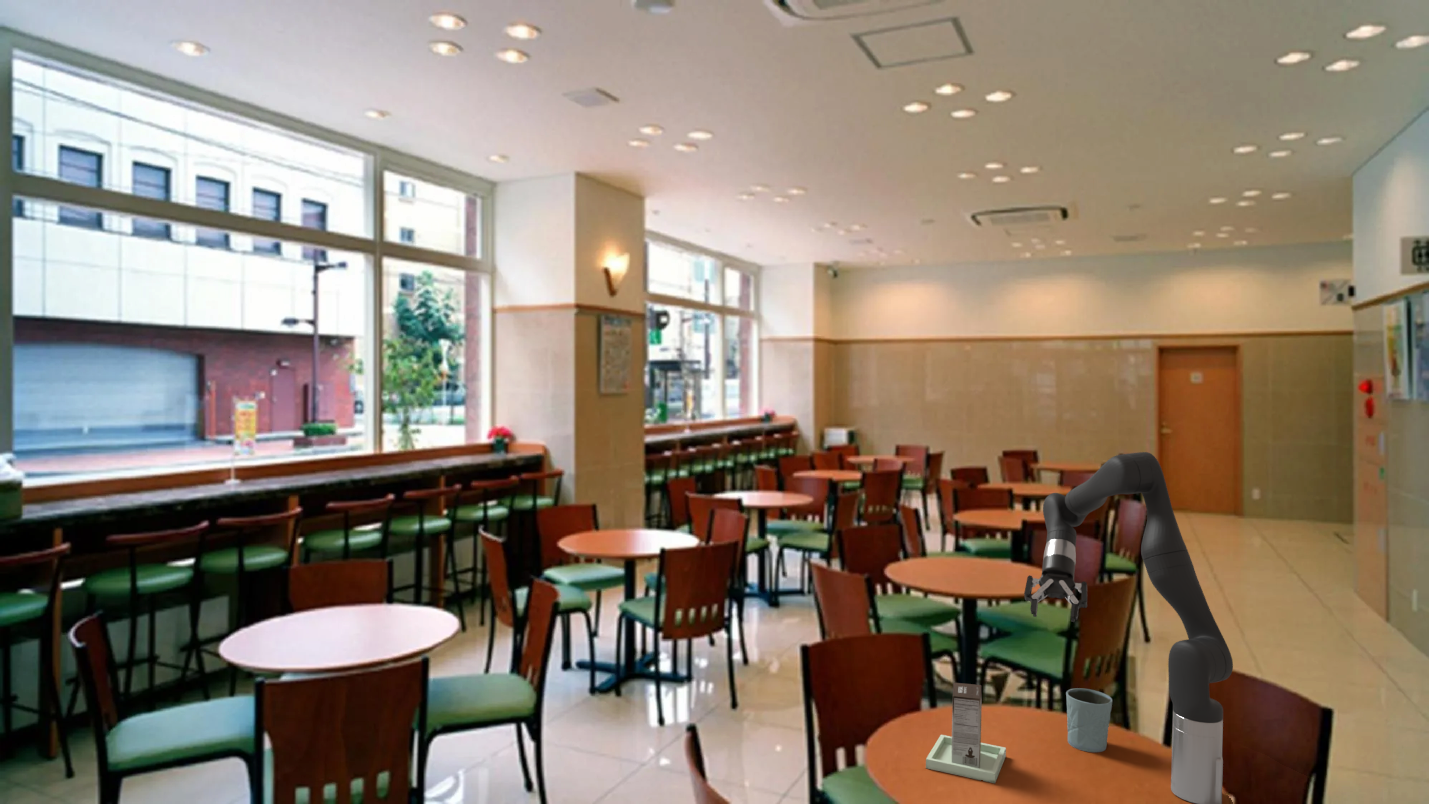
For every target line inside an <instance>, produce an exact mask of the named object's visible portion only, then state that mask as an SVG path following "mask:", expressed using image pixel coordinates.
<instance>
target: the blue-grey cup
mask: <svg viewBox="0 0 1429 804" xmlns="http://www.w3.org/2000/svg"><path fill="white" fill-rule="evenodd" d="M1065 695H1066V718H1067V721H1066V722H1067V723H1066V725H1067V727H1066V728H1067V743H1068V745H1070V746H1071V747H1072V748H1074V749H1076V750H1080V751H1083V752H1088V753H1102V752H1104V751H1106V749H1107V744H1108V737H1109V736H1108V735H1109V734H1108V733H1109V727H1110V726H1109V725H1110V721H1111V712H1112V708H1113V706H1112V705H1113V698H1112V697H1111V696H1110V695H1109V694H1106V693H1104V692H1101V691H1098V690H1094V689H1090V688H1080V687H1079V688H1078V687H1077V688H1070V689H1068V690H1066V692H1065Z"/></svg>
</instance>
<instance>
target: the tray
mask: <svg viewBox="0 0 1429 804" xmlns="http://www.w3.org/2000/svg"><path fill="white" fill-rule="evenodd" d="M1006 754H1007V748H1006V746H1005V747H1004V746H999V745H995V744H989V743H985V742H981V752H980V768H975V767H970V766H965V765H961V764H956V763H952V735H951V736H950V735H946V734H940V735H939V737H938V739H937V740H936V742H935V744H934V745H933V747H932V749H931V750H930V752H929V753H928V754H927V756H926V759H925V769H929V770H932V771H937V772H941V773H947V774H951V775H956V776H960V777H965V778H968V779H972V780H977V781H981V780H983V781H982V782H987V783H991V784H996V782H997V779H998V777H999V774H1000V772H1001V769H1002V767H1003V764H1004V762H1005V760H1006V757H1007V755H1006Z"/></svg>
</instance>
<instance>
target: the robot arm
mask: <svg viewBox="0 0 1429 804" xmlns="http://www.w3.org/2000/svg"><path fill="white" fill-rule="evenodd" d="M1140 493H1141V495H1142V497H1143V500H1144V503H1145V508H1146V514H1147V515H1146V516H1147V517H1146V520H1147V521H1146V525H1145V528H1144V532H1143V535H1142V536H1143V537H1142V540H1141V546H1140V554H1141V558H1142V561H1143V563H1144V567H1145V570H1146V572H1147V575H1148V578H1149V580H1150V582H1151V584H1152V585H1153V587H1154V588H1155V589H1156V591H1157V592H1158V593H1159V594H1160V596H1162V598H1163V599H1164V600H1165V601H1166V602H1167V603H1168V604H1169V606H1170V607H1171V608H1172V609H1174V611H1175V612H1176V613H1177V616H1178V617H1179V618H1180V620H1181V622H1182V624H1183V626H1184V629H1185V631H1186V634H1187V638H1188V639H1181V640H1179V641H1176V642H1175V643H1173V645H1172V646H1171V648H1170V649H1169V653H1168V660H1167V665H1168V666H1167V667H1168V668H1167V669H1168V692H1169V697H1170V700H1171V702H1172V733H1171V737H1172V738H1171V747H1172V748H1171V773H1170V774H1171V775H1170V777H1171V778H1170V790H1171V792H1172V793H1173V794H1174V795H1175V796H1177V798H1180V799H1182V800H1184V801H1187V802H1189V803H1192V804H1223V777H1224V775H1223V771H1224V770H1223V769H1224V768H1223V767H1224V765H1223V764H1224V760H1223V736H1224V735H1223V731H1224V729H1223V727H1224V723H1223V722H1224V708H1223V705H1222V704H1221V703H1220V702H1219V701H1217V700H1216V699H1213V698H1211V697H1210V695H1211V694H1210V684H1213V683H1218V682H1223V681H1225V680H1227V679H1229V678H1230V676H1231V675H1232V672H1233V670H1234V664H1233V657H1232V654H1231V650H1230V649H1229V647H1228V645H1227V642H1226V640H1225V638H1224V635H1223V634H1222V632H1221V630H1220V628H1219V625H1218V624H1217V622H1216V620H1215V618H1214V616H1213V614H1212V611H1211V609H1210V606H1209V605H1208V602H1207V599H1206V596H1205V594H1204V592H1203V589H1202V586H1201V583H1200V581H1199V579H1198V576H1197V574H1196V570H1195V567H1194V564H1193V561H1192V559H1191V558H1192V557H1191V556H1190V553H1189V551H1188V548H1187V545H1186V543H1185V541H1184V538H1183V535H1182V532H1181V530H1180V528H1179V525H1178V522H1177V519H1176V515H1175V513H1174V509H1173V507H1172V502H1171V499H1170V498H1171V497H1170V494H1169V491H1168V486H1167V483H1166V479H1165V475H1164V472H1163V470H1162V466H1161V465H1160V462H1159V461H1158V459H1157V457H1156V456H1155V455H1153V454H1152V453H1150V452H1147V451H1142V452H1141V451H1140V452H1139V451H1138V452H1131V453H1122V454H1116V455H1114V456H1112V457H1110V458H1108V460H1107V461H1106V462H1104V463H1103V464H1102V465H1101V466H1100V468H1099V469H1097V471H1096V472H1095V473H1094V474H1093V475H1092V476H1091V477H1089V478H1088V479H1087V480H1086V481H1084V482H1082V483H1081V484H1079V485H1077V486H1075V487H1074V488H1072V489H1071V490H1070V491H1068V492H1067V493H1066V495H1063V494H1061V493H1058V492H1053V493H1049V495H1047V496H1046V497H1045V499H1044V501H1043V506H1042V514H1043V518H1044V522H1045V523H1044V524H1045V527H1046V532H1047V534H1046V541H1045V542H1046V544H1045V548H1044V552H1043V560H1042V566H1041V575H1040V577H1039V578H1037V577H1036V578H1035V577H1033V575H1027V578H1026V583H1025V587H1024V593H1023V595H1024V600H1025V601H1026V602H1030V609H1029V610H1030V614H1031V615H1032V616H1033V617H1034V618H1037V617H1038V616H1037V615H1038V608H1039V604H1038V603H1040V601H1042V600H1044V599H1046V598H1047V597H1048V598H1051V599H1053V598H1057V599H1059V600H1060V599H1061V600H1062V599H1063V600H1064V599H1066V601H1067V602H1068V603H1069V604H1071V611H1070V621H1071V622H1072V623H1075V621H1078V618H1079V609H1081V608H1083V609H1085V608H1087V607H1088V584H1087V581H1082V582H1075V570H1076V565H1077V564H1076V563H1077V561H1076V559H1077V554H1076V546H1077V545H1076V544H1077V536H1078V535H1077V531H1076V529H1075V527H1078V526H1080V525H1081V524H1082V523H1083V522H1084V521H1085V519H1086V517H1087V516H1088V515H1089V514H1090V513H1092V512H1094V511H1096V510H1098V509H1099V508H1101V507H1102V506H1103V505H1104V504H1105V503H1106V502H1107V500H1108V497H1112V496H1116V495H1134V494H1140ZM1037 585H1038V586H1039V588H1038V589H1037V591H1036V592H1035V593H1032V592H1033V588H1035V587H1036V586H1037ZM1074 590H1077V591H1078V592H1079V594H1081V598H1080V599H1079V600H1078V598H1077V597H1076V596H1075V594H1074Z"/></svg>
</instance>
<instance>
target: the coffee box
mask: <svg viewBox="0 0 1429 804" xmlns="http://www.w3.org/2000/svg"><path fill="white" fill-rule="evenodd" d="M952 689H953V690H952V703H951V704H952V705H951V706H952V708H951V709H952V710H951V712H952V713H951V714H952V715H951V718H952V719H951V737H952V763H956V764H961V765H965V766H970V767H975V768H980V752H981V743H982V709H983V708H982V703H983V702H982V701H983V700H982V698H983V697H982V685H981V684H973V683H972V684H971V683H961V682H953V687H952Z"/></svg>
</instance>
